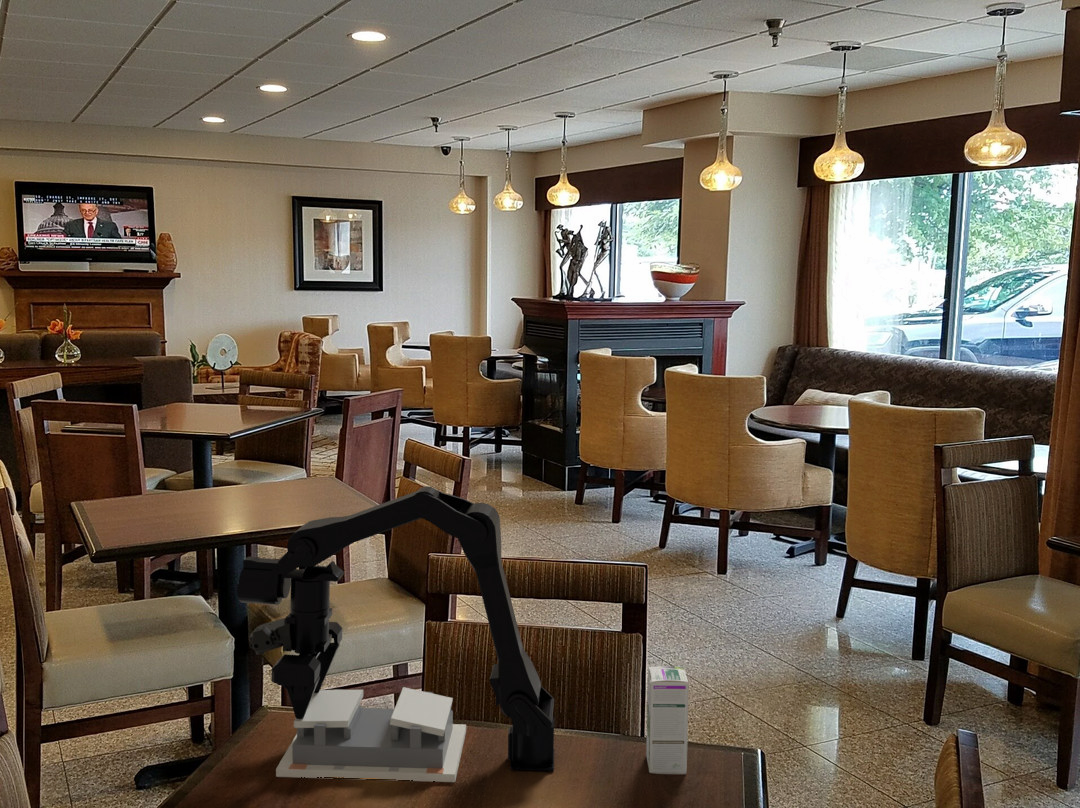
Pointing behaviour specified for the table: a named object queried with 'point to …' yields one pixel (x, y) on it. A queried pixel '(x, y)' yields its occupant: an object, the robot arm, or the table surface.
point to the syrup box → (667, 720)
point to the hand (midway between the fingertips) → (307, 705)
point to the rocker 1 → (331, 708)
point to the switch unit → (374, 750)
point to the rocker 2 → (422, 711)
